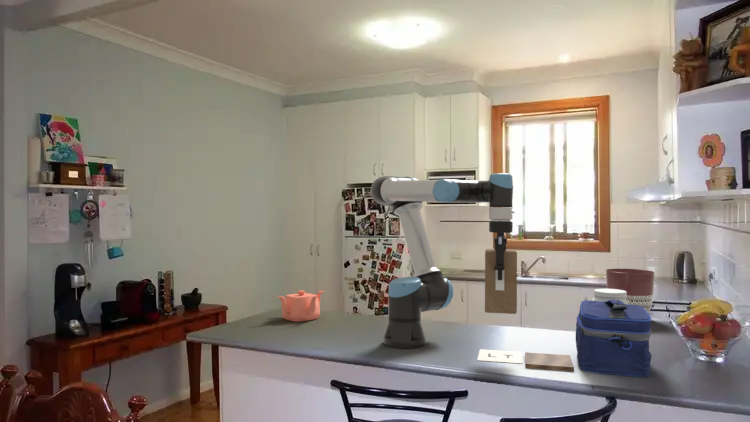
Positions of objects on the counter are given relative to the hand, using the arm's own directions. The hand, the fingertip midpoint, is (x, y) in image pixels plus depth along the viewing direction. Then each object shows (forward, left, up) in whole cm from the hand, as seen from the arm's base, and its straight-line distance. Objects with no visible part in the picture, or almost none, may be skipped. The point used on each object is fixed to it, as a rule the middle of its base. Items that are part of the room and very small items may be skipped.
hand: (500, 287), depth 182 cm
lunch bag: (+35, +1, -23) cm, 42 cm away
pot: (-86, +40, -23) cm, 98 cm away
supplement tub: (+39, +35, -23) cm, 57 cm away
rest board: (+15, -4, -23) cm, 28 cm away
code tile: (0, 0, -23) cm, 23 cm away
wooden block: (0, 0, -8) cm, 8 cm away
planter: (+54, +79, -23) cm, 98 cm away
